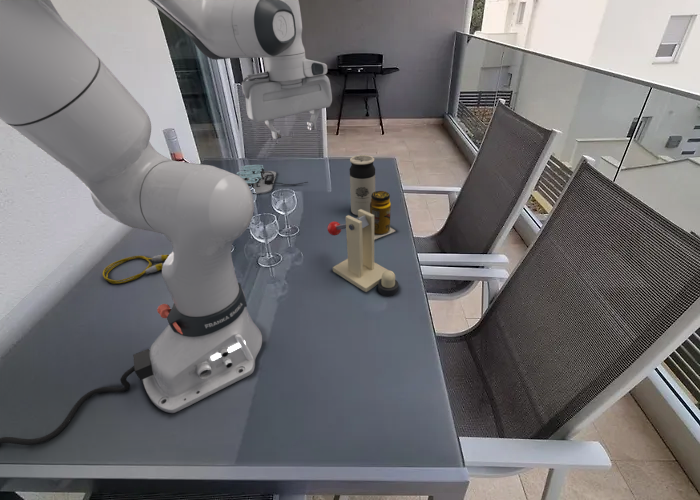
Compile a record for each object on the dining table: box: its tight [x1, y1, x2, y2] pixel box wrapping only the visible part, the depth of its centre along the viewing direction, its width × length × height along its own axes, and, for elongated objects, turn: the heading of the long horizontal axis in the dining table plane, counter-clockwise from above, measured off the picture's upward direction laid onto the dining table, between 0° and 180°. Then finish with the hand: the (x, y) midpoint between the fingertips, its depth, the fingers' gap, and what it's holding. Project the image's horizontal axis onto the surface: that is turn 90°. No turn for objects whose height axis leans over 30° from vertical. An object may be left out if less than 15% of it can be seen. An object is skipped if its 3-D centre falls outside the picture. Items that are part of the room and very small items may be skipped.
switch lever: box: [326, 215, 369, 236], centre depth 85 cm, size 14×4×4 cm, turn 43°
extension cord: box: [102, 254, 170, 285], centre depth 93 cm, size 12×16×2 cm
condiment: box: [370, 190, 396, 241], centre depth 102 cm, size 7×8×12 cm
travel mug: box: [349, 154, 376, 216], centre depth 111 cm, size 8×8×18 cm
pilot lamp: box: [377, 269, 399, 297], centre depth 82 cm, size 5×5×5 cm
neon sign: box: [235, 164, 309, 195], centre depth 138 cm, size 21×4×29 cm
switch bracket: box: [332, 209, 388, 293], centre depth 84 cm, size 12×9×17 cm
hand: (295, 133), depth 83 cm, fingers open, 8 cm apart
